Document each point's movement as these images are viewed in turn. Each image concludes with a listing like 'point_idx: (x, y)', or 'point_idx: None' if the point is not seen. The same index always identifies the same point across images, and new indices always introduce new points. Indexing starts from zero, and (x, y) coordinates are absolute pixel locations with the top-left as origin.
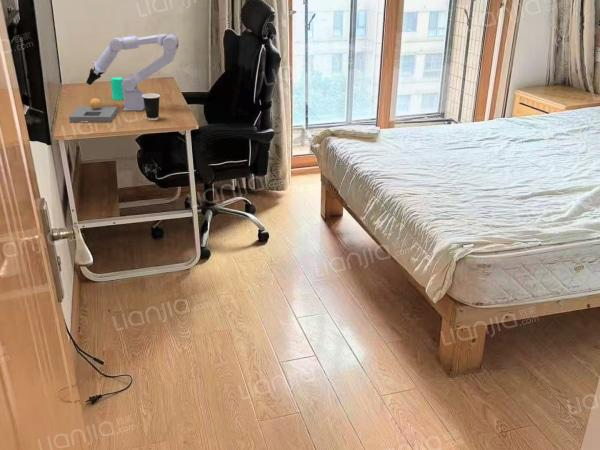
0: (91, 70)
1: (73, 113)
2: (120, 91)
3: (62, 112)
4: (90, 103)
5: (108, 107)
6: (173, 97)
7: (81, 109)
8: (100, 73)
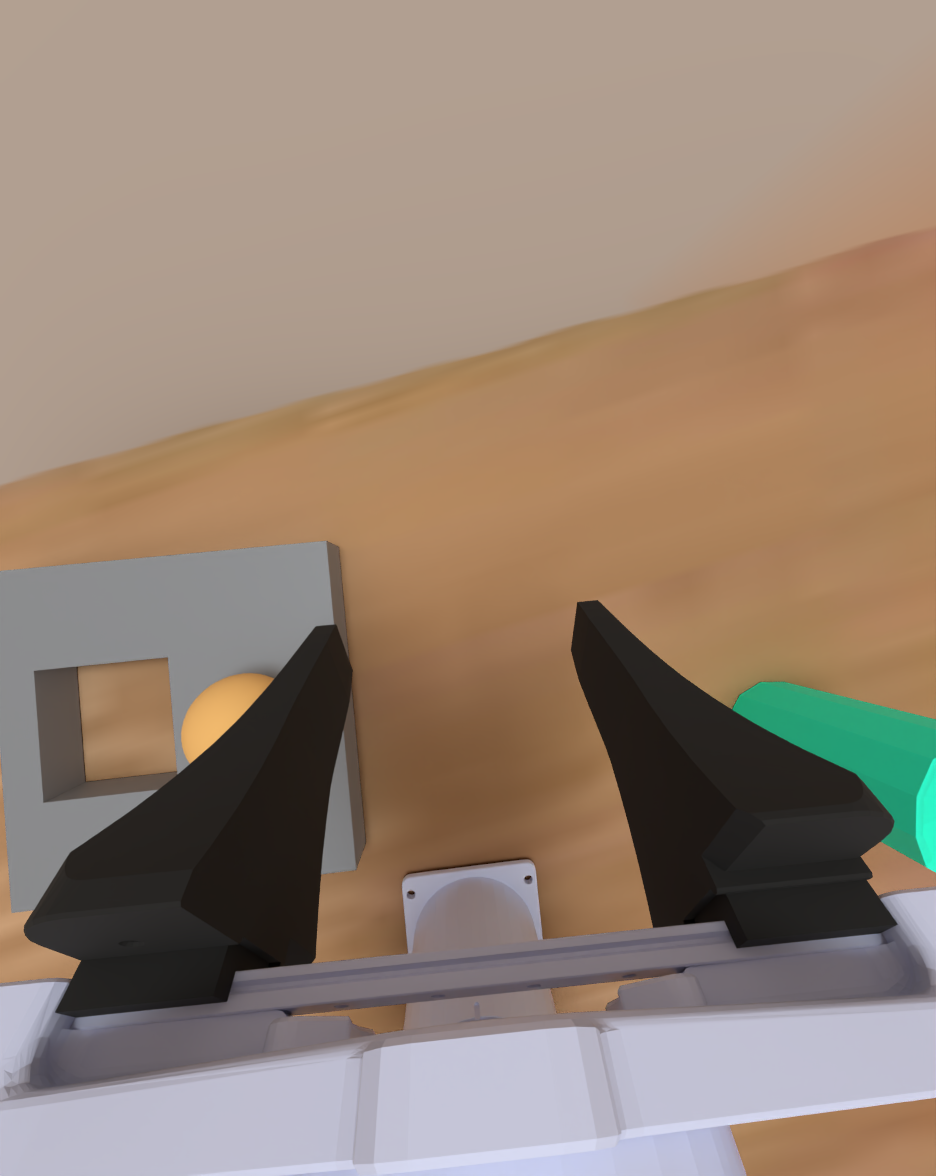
0: (30, 929)
1: (97, 571)
2: None
3: (309, 428)
4: (206, 688)
5: None
6: (877, 1170)
7: (235, 594)
8: (637, 833)
